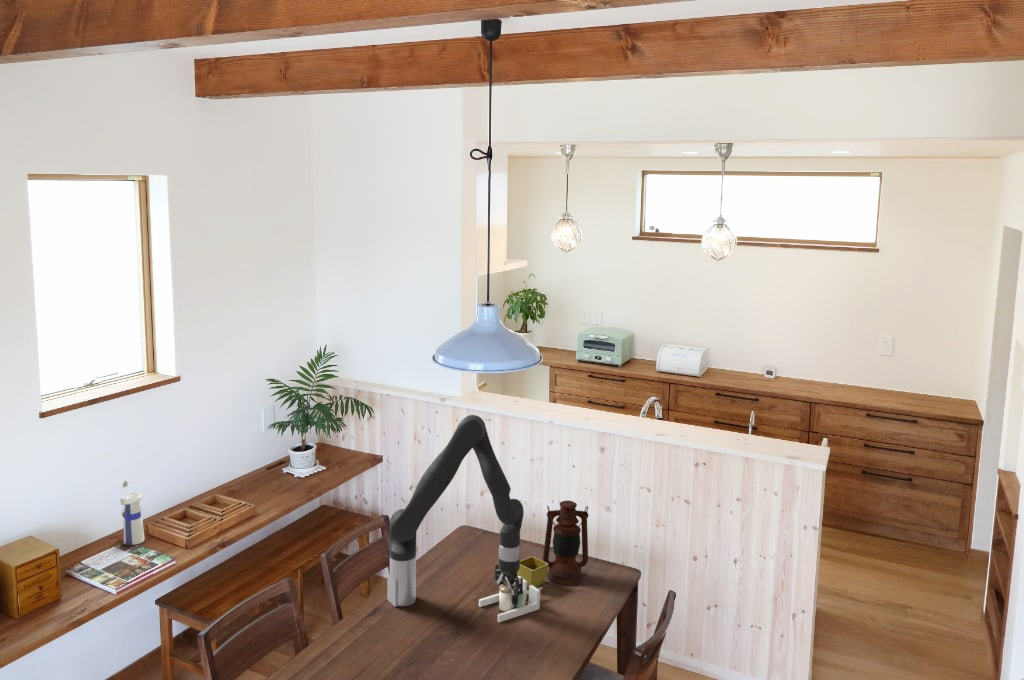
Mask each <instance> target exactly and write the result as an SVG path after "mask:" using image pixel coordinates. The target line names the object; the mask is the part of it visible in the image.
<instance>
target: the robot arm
mask: <svg viewBox="0 0 1024 680" xmlns="http://www.w3.org/2000/svg"><path fill="white" fill-rule="evenodd" d="M472 449H473V451H474V453H475V455H476V457H477V460H478V464H479V467H480V471H481V474H482V478H483V479H484V481H485V482H484V483H485V484H486V486H487V489H488V491H489V492H490V494H491V496H492V502H493V506H494V509H495V513H496V516H497V518H498V520H499V521H500V522H501V523H502V524H503V525H502V527H501V528H500V532H499V547H498V564H495V566H494V578H493V580H494V581H496V583H497V594H498V593H499V586H500V585H501V584H504V583H507V584H508V586H509V589H511V591H512V604H513V605H515V604H517V603H518V596H519V595H521V594H523V579H522V578H518V573H517V571H518V570H519V568H520V561H521V544H520V543H521V528H522V525H523V520H524V511H525V510H524V505H523V503H522V502H521V501H520V500H519V499H517V498H511V497H510V494H511V491H512V490H511V488H512V487H511V486H510V484H509V481H508V479H507V477H506V475H505V473H504V471H503V469H502V467H501V465H500V463H499V460H498V458H497V456H496V454H495V452H494V449H493V446H492V443H491V440H490V437H489V434H488V430H487V427H486V423H485V421H484V419H483V418H481V417H480V416H479V415H476V414H470V415H467V416H465V417H463V419H462V420H460V422H459V423H458V425H457V427H456V429H455V430H454V432H453V433H452V436H451V438H450V439H449V441H448V443H447V445H446V446H445V447H444V448H443V450H442V451H441V452H440V453H438V454H437V456H436V457H435V458H434V460H433V461H432V462H431V464H430V465H429V466H428V467H427V469H426V470H425V471H424V473H423V475H422V476H421V477H420V479H419V481H418V483H417V485H416V487H415V490H414V491H413V494H412V496H411V499H410V500H409V502H408V503H407V505H406V506H405V508H402V509H401V508H400V509H397V510H396V511H395V512H394V513H393V514H392V515H391V517H390V519H389V520H390V521H389V528H388V529H389V574H388V575H387V581H386V582H387V589H386V590H387V592H386V594H387V601H388V603H390V604H391V605H392V606H393V607H394V608H396V607H409V606H411V605H413V604H414V603H415V602H416V600H417V598H416V596H417V591H416V589H417V584H416V583H417V531H418V529H419V528H420V526H421V524H422V522H423V520H424V519H425V517H426V516H427V514H428V512H429V511H430V510H431V509H433V506H434V505H435V504H436V503H437V501H438V500H439V499H440V497H441V496H442V494H444V492H445V491H446V489H447V488H448V486H450V484H451V483H452V481H453V479H454V478H455V476H456V474H457V473H458V470H459V468H460V465H461V464H462V462H463V460H464V458H466V456H467V455H468V453H470V452H471V450H472ZM512 584H514V586H512ZM514 588H515V591H514ZM519 589H520V591H519Z"/></svg>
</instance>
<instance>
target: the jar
mask: <svg viewBox="0 0 1024 680" xmlns="http://www.w3.org/2000/svg"><path fill="white" fill-rule="evenodd" d="M514 585H515V584H514ZM514 585H513V584H512V586H514ZM514 591H515V588H514ZM498 609H499V610H500V611H502V612H507V611H510V610H513V609H516V607H515V605H513V604H512V591H511V589H509V586H508V584H507V583H505V582H504V584H501V585H500V586H499V601H498Z"/></svg>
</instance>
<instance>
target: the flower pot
mask: <svg viewBox="0 0 1024 680" xmlns="http://www.w3.org/2000/svg"><path fill="white" fill-rule="evenodd" d="M548 565H549V564H548V563H546V562H544V561H543V559H539V558H537V557H535V556H532V555H531V556H529V557H526V558H524V559H522V560H521V559H520V568H519V570H518V571H517V576H520V577H521V578H523V579H524V580H526V581H527V589H529V586H530V585H533V586H534V587H536V588H539V587H541V585H542V584H544V582H545V579H546V578H547V572H548V571H549V567H548Z"/></svg>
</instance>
